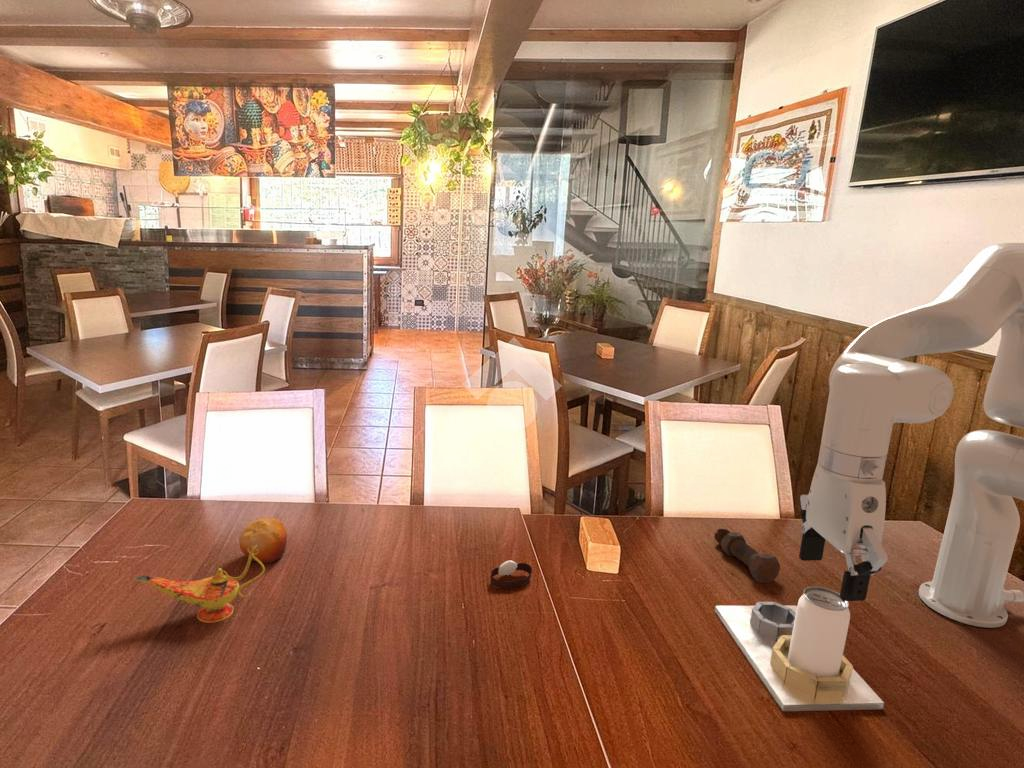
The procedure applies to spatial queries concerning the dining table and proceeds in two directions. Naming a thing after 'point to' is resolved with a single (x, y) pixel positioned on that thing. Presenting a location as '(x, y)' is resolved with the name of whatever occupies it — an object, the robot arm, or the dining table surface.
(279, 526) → the fruit
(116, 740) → the dining table surface
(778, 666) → the plate
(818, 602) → the can
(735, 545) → the bolt
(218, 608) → the magic lamp
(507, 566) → the watch
